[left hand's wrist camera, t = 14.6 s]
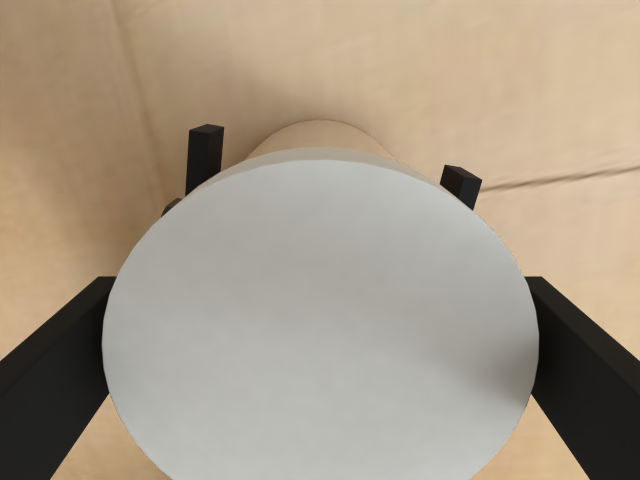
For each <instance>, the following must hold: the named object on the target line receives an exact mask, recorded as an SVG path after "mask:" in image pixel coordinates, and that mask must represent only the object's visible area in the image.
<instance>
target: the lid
mask: <svg viewBox="0 0 640 480" xmlns="http://www.w3.org/2000/svg"><path fill="white" fill-rule="evenodd" d="M102 355H103V367H104V372H105V377H106V381H107V385H108V389H109V393H110V395H111V398H112V400H113V403H114V405H115V408H116V410H117V413H118V415H119V417H120V418H121V420H122V422H123V424H124V425H125V427H126V429H127V431H128V432H129V434H130V435H131V437H132V438H133V439H134V441H135V442H136V443H137V445H138V446H139V447H140V449H141V450H142V451H143V452H144V454H145V455H146V456H147V457H148V458H149V459H150V460H151V461H152V462H153V463H154V464H155V465H156V466H157V467H158V468H159V469H160V470H161V471H163V472H164V473H165V474H166V475H167V476H169V477H170V478H171V479H172V480H469V479H470V478H471V477H472V476H473V475H475V474H476V473H477V472H478V471H479V470H480V469H481V468H483V467H484V466H485V465H486V464H487V463H488V462H489V461H490V460H491V459H492V457H493V456H494V455H495V454H496V453H497V452H498V451H499V450H500V448H501V447H502V446H503V445H504V443H505V442H506V440H507V439H508V438H509V436H510V435H511V433H512V432H513V430H514V429H515V427H516V426H517V424H518V422H519V420H520V418H521V416H522V414H523V412H524V410H525V408H526V406H527V403H528V400H529V397H530V394H531V391H532V388H533V385H534V382H535V376H536V371H537V365H538V358H539V331H538V324H537V317H536V310H535V306H534V303H533V300H532V297H531V293H530V290H529V287H528V284H527V282H526V280H525V278H524V276H523V274H522V272H521V270H520V268H519V266H518V264H517V262H516V260H515V258H514V257H513V256H512V254H511V253H510V251H509V250H508V249H507V247H506V246H505V244H504V243H503V241H502V240H501V239H500V237H499V236H498V235H497V234H496V233H495V232H494V231H493V230H492V229H491V228H490V227H489V226H488V225H487V224H486V223H485V222H484V221H483V220H482V219H481V218H480V217H479V216H478V215H477V214H476V213H474V212H473V211H472V210H471V209H470V208H468V207H467V206H466V205H465V204H464V203H462V202H461V201H460V200H459V199H457V198H456V197H455V196H454V195H453V194H451V193H450V192H449V191H447V190H446V189H445V188H443V187H442V186H441V185H440V184H438V183H437V182H436V181H434V180H433V179H431V178H429V177H428V176H426V175H424V174H422V173H421V172H419V171H417V170H415V169H414V168H412V167H410V166H408V165H405V164H403V163H400V162H397V161H395V160H392V159H390V158H387V157H385V156H381V155H377V154H373V153H369V152H365V151H361V150H356V149H347V148H337V147H300V148H294V149H287V150H281V151H275V152H271V153H267V154H264V155H261V156H257V157H254V158H251V159H248V160H245V161H243V162H241V163H238V164H236V165H234V166H232V167H230V168H228V169H225V170H223V171H221V172H220V173H218V174H216V175H215V176H213V177H212V178H210V179H209V180H207V181H206V182H204V183H202V184H201V185H199V186H198V187H197V188H196V189H194V190H193V191H192V192H191V193H190V194H188V195H187V196H186V197H185V198H184V199H182V200H181V201H180V202H179V203H178V204H176V205H175V206H174V207H173V208H172V209H171V210H169V211H168V212H167V213H166V214H165V215H164V216H162V217H161V218H160V219H159V220H158V221H157V222H156V223H154V224H153V225H152V226H151V228H150V229H149V230H148V231H147V232H146V233H145V235H144V236H143V237H142V238H141V239H140V240H139V242H138V243H137V244H136V245H135V246H134V248H133V249H132V251H131V253H130V254H129V256H128V258H127V259H126V261H125V262H124V264H123V266H122V267H121V269H120V271H119V273H118V275H117V278H116V280H115V283H114V285H113V287H112V290H111V292H110V295H109V299H108V303H107V307H106V311H105V316H104V321H103V334H102Z"/></svg>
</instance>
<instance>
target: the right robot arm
mask: <svg viewBox="0 0 640 480" xmlns="http://www.w3.org/2000/svg"><path fill="white" fill-rule="evenodd" d="M223 136H224V127H221V126H215V125H210V124H206V125H203V126H200V127H197V128H194V129H191V130H189V143H188V159H187V176H186V192H185V197H186V196H187V195H188V194H190V193H191V192H192V191H193V190H194V189H196V188H197V187H198V186H199V185H201V184H202V183H204V182H206V181H207V180H209V179H210V178H212V177H213V176H215V175H216V174H218V173H220V170H221V159H222V147H223ZM481 183H482V179H480V178H478V177H476V176H475V175H473V174H471V173H470V172H468V171H466V170H464V169H463V168H461V167H455V166H449V165H445V166H444V170H443V173H442V177H441V181H440V185H441V186H442V187H443V188H445V189H446V190H447V191H449V192H450V193H451V194H453V195H454V196H455V197H456V198H457V199H459V200H460V201H461V202H462V203H464V204H465V205H466V206H467V207H468V208H470V209H471V210H472V211H473V209H474V206H475V202H476V199H477V196H478V193H479V189H480V186H481ZM181 200H182V199H178V198H176V199H175V200H174V201H172V202H171V203H170V204H169V205H167V206H166V208H165V209H164V211H163V213H162V215H161V217H162V216H164V215H165V214H166V213H167V212H168V211H169V210H171V209H172V208H173V207H174V206H175V205H176V204H178V203H179V202H180V201H181Z"/></svg>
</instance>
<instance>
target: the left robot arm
mask: <svg viewBox="0 0 640 480" xmlns="http://www.w3.org/2000/svg"><path fill="white" fill-rule="evenodd" d="M116 278H117V277H97V278H96V279H95V280H94V281H93V282H92V283H90V284H89V285H88V286H87V287H86V288H85V289H83V290H82V291H81V292H80V293H79V294H78V295H76V296H75V297H74V298H73V299H72V300H71V301H69V302H68V303H67V304H66V305H65V306H64V307H63V308H61V309H60V310H59V311H58V312H57V313H56V314H54V315H53V316H52V317H51V318H50V319H49V320H47V321H46V322H45V323H44V324H43V325H42V326H40V327H39V328H38V329H37V330H36V331H35V332H34V333H32V334H31V335H30V336H29V337H28V338H27V339H25V340H24V341H23V342H22V343H21V344H20V345H18V346H17V347H16V348H15V349H14V350H13V351H11V352H10V353H9V354H8V355H7V356H6V357H5V358H3V359H2V360H1V361H0V480H50V479H51V477H52V476H53V474H54V473H55V472H56V470H57V469H58V467H59V466H60V464H61V463H62V461H63V460H64V458H65V457H66V455H67V454H68V453H69V451H70V450H71V448H72V447H73V445H74V444H75V442H76V441H77V439H78V438H79V436H80V435H81V434H82V432H83V431H84V429H85V428H86V426H87V425H88V423H89V422H90V420H91V419H92V418H93V416H94V415H95V413H96V412H97V410H98V409H99V407H100V406H101V404H102V403H103V401H104V400H105V399H106V397H107V396H108V394H109V389H108V385H107V381H106V377H105V372H104V367H103V355H102V334H103V321H104V316H105V311H106V307H107V303H108V299H109V295H110V292H111V290H112V287H113V285H114V283H115V280H116ZM524 278H525V280H526V282H527V284H528V287H529V290H530V293H531V297H532V300H533V303H534V306H535V310H536V317H537V324H538V331H539V358H538V365H537V371H536V376H535V382H534V385H533V388H532V391H531V394H532V396H533V397H534V399H535V400H536V401H537V403H538V404H539V406H540V407H541V409H542V410H543V412H544V413H545V415H546V416H547V418H548V419H549V420H550V422H551V423H552V425H553V426H554V428H555V429H556V431H557V432H558V434H559V435H560V436H561V438H562V439H563V441H564V442H565V444H566V445H567V447H568V448H569V450H570V451H571V453H572V454H573V455H574V457H575V458H576V460H577V461H578V463H579V464H580V466H581V467H582V469H583V470H584V472H585V473H586V474H587V476H588V477H589V479H590V480H640V361H639V360H638V359H637V358H635V357H634V356H633V355H632V354H631V353H630V352H629V351H627V350H626V349H625V348H624V347H623V346H622V345H620V344H619V343H618V342H617V341H616V340H615V339H613V338H612V337H611V336H610V335H609V334H608V333H606V332H605V331H604V330H603V329H602V328H601V327H600V326H598V325H597V324H596V323H595V322H594V321H593V320H591V319H590V318H589V317H588V316H587V315H586V314H584V313H583V312H582V311H581V310H580V309H579V308H577V307H576V306H575V305H574V304H573V303H572V302H571V301H569V300H568V299H567V298H566V297H565V296H564V295H562V294H561V293H560V292H559V291H558V290H557V289H555V288H554V287H553V286H552V285H551V284H550V283H548V282H547V281H546V280H545V279H544V278H543V277H524Z"/></svg>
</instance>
